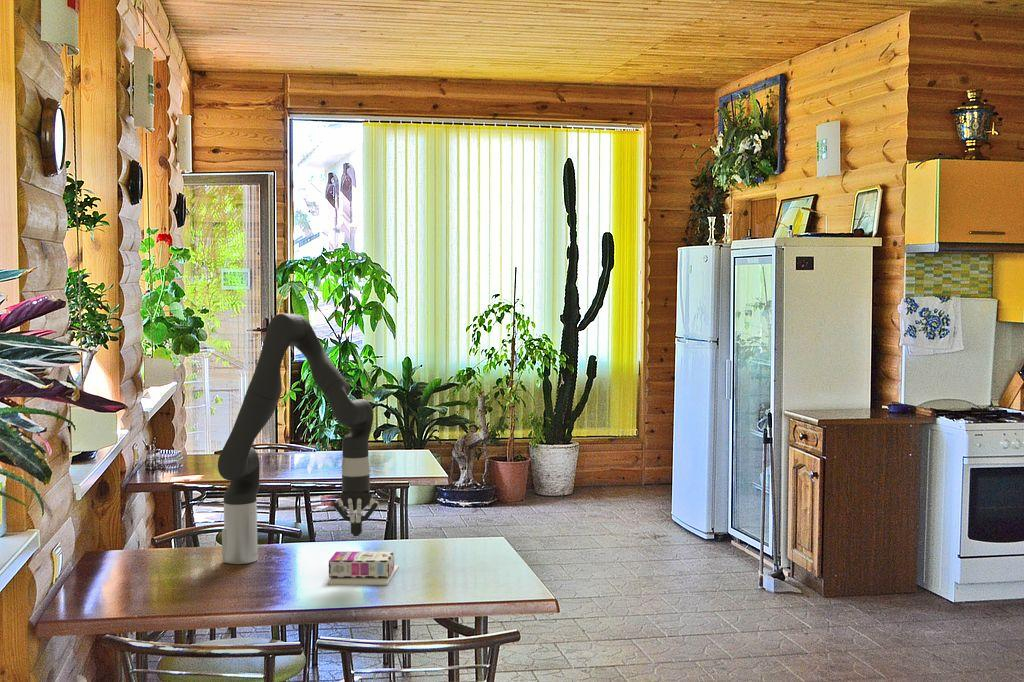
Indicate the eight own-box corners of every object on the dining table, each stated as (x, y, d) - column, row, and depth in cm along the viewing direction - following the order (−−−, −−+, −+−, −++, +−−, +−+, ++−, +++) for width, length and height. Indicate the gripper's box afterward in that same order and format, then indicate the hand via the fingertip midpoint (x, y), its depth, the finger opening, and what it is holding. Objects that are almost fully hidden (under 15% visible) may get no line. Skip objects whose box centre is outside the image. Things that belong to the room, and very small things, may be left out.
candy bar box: (328, 579, 291) (389, 578, 290) (327, 560, 291) (388, 560, 290) (336, 568, 302) (395, 568, 302) (336, 551, 302) (394, 550, 301)
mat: (327, 584, 288) (327, 582, 288) (343, 566, 306) (343, 564, 306) (387, 585, 287) (387, 583, 286) (399, 567, 304) (399, 565, 304)
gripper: (328, 475, 291) (329, 538, 292) (377, 475, 290) (377, 539, 291) (335, 470, 299) (336, 532, 300) (382, 470, 298) (383, 532, 299)
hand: (356, 535), depth 296 cm, fingers closed
